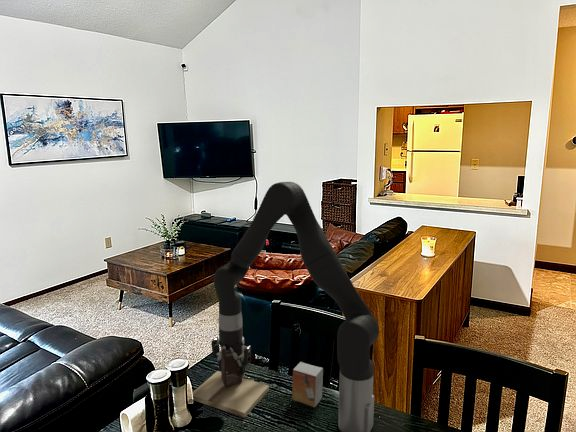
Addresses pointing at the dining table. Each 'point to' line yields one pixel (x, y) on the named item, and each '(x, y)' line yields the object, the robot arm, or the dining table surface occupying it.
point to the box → (230, 368)
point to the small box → (307, 384)
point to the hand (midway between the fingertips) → (231, 372)
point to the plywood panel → (230, 394)
